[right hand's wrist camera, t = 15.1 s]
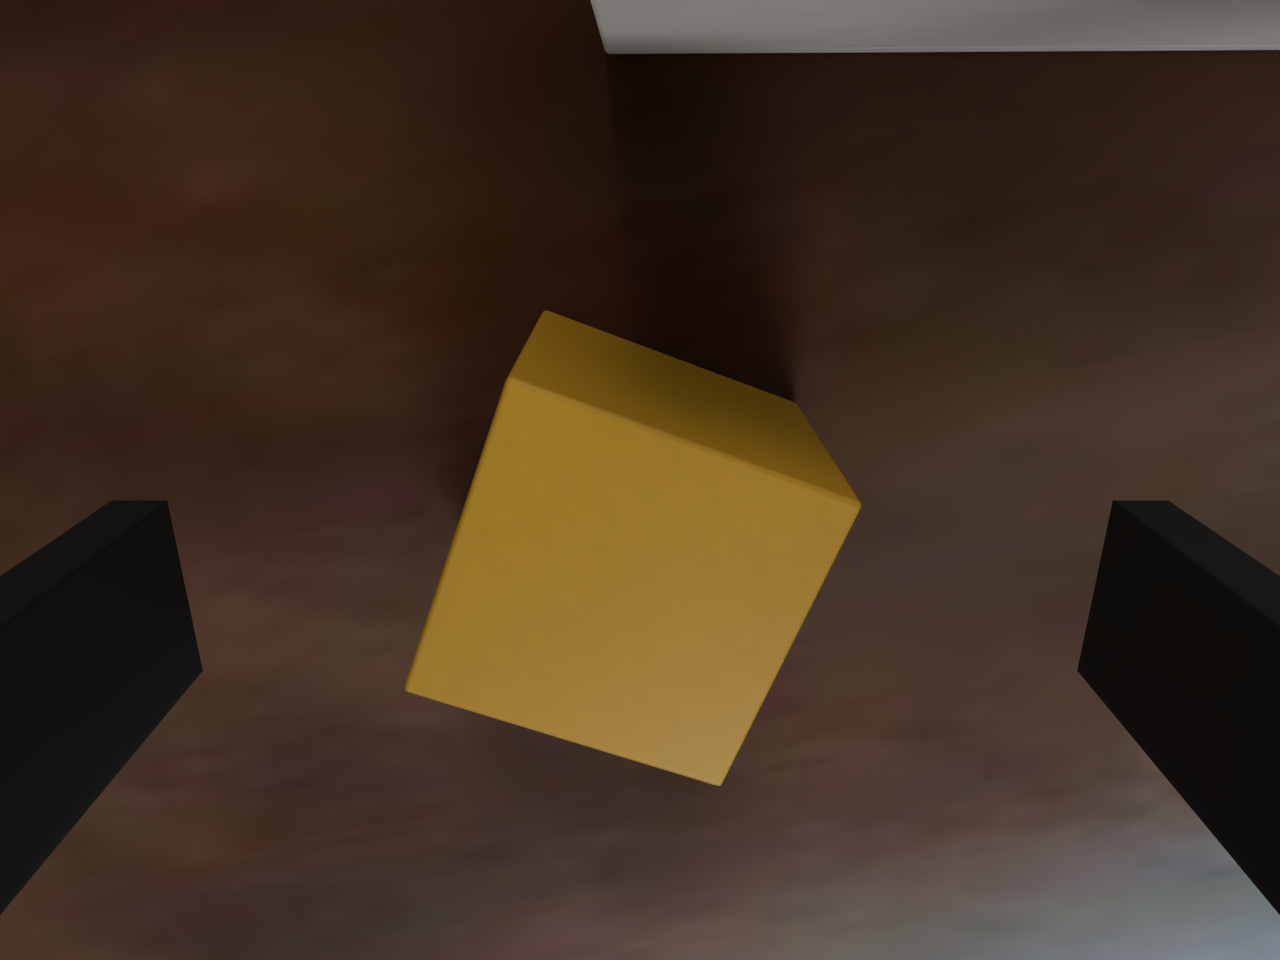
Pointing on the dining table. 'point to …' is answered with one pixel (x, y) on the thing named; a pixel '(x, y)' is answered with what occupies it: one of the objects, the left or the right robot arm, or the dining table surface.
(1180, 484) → the dining table surface
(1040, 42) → the chest
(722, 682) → the block
